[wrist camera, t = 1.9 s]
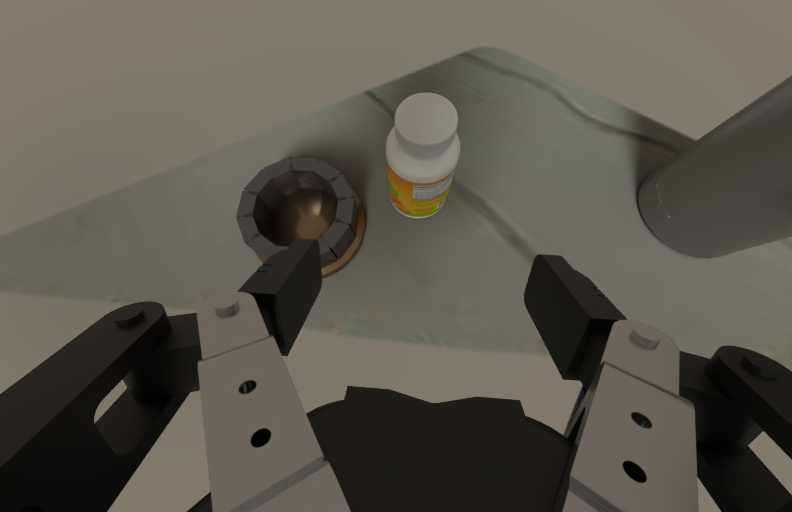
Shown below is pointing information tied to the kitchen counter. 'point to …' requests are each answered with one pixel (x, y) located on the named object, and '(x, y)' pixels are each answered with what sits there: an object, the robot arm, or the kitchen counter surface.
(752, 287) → the kitchen counter surface
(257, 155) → the kitchen counter surface
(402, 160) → the supplement bottle
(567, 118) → the kitchen counter surface
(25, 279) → the kitchen counter surface
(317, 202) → the collar mount
